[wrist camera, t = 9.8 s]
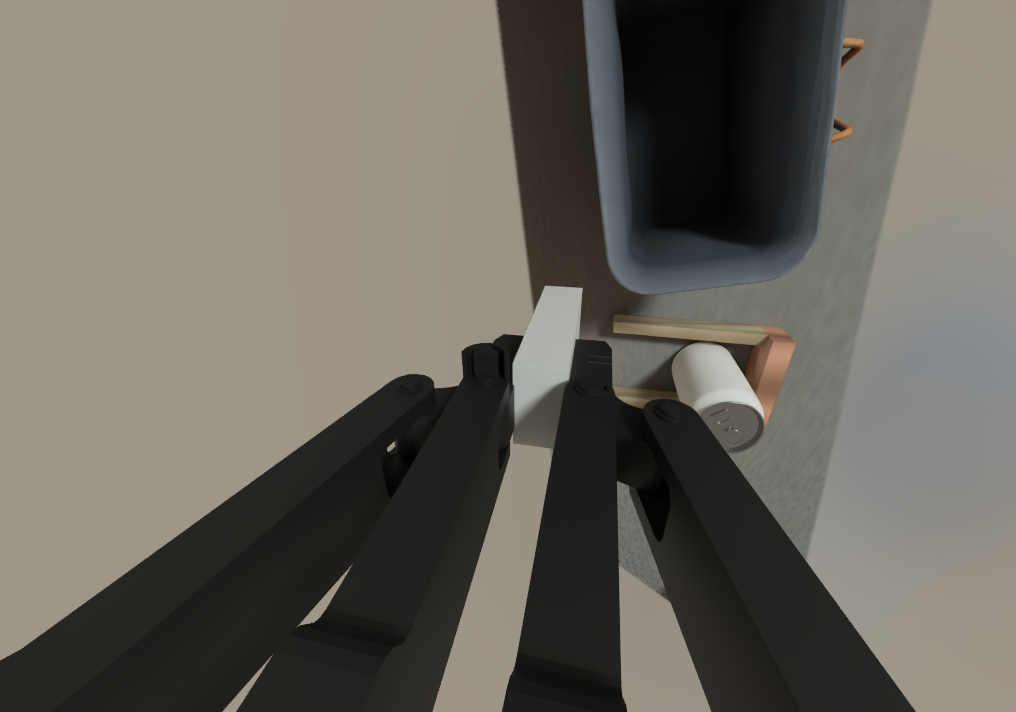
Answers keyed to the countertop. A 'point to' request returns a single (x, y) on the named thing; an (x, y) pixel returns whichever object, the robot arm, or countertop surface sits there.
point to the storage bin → (712, 135)
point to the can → (719, 395)
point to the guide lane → (767, 341)
